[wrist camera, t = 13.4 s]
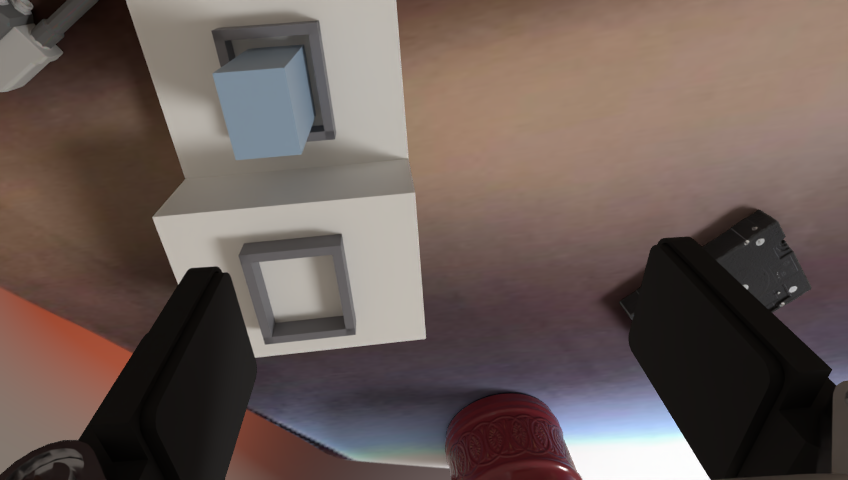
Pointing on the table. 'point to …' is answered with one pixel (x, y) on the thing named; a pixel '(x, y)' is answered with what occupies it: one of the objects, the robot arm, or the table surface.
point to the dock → (293, 172)
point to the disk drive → (754, 262)
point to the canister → (508, 441)
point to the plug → (267, 101)
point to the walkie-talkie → (32, 39)
